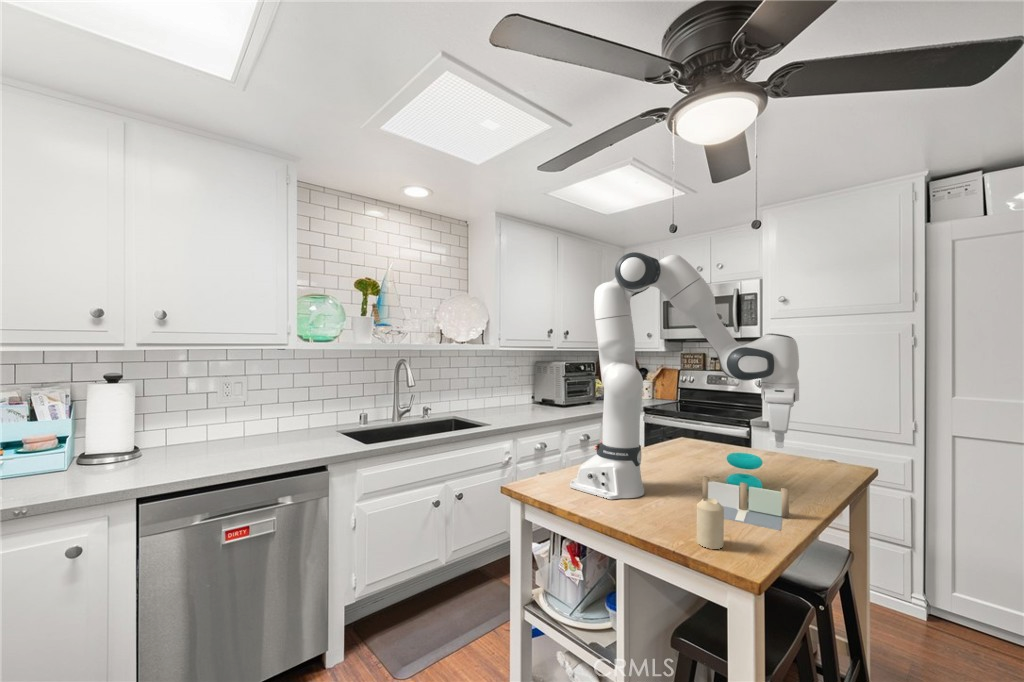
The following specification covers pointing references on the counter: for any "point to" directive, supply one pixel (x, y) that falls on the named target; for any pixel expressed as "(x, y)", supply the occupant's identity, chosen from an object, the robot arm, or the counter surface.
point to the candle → (710, 523)
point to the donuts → (744, 463)
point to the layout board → (753, 517)
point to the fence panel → (769, 501)
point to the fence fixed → (725, 493)
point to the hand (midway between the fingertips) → (780, 444)
